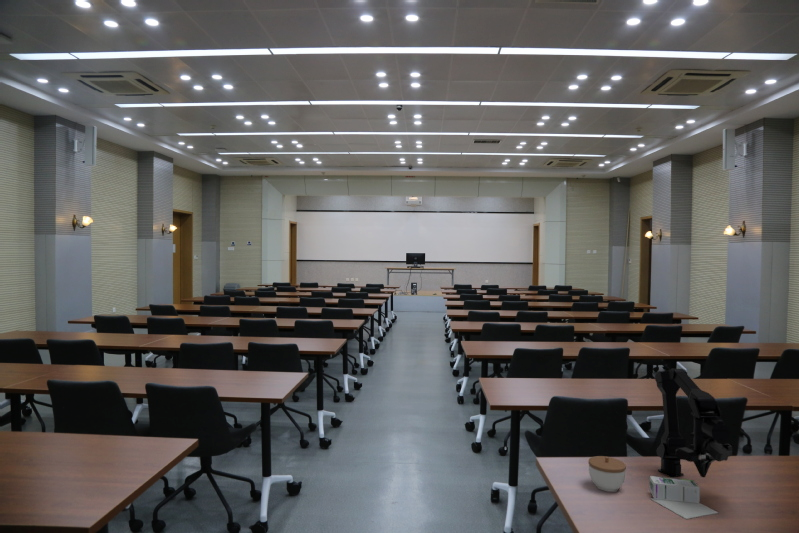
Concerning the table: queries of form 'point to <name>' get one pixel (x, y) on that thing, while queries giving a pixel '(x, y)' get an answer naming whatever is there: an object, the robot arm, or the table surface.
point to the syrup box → (674, 489)
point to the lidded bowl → (607, 473)
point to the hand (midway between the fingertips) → (702, 476)
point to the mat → (685, 508)
